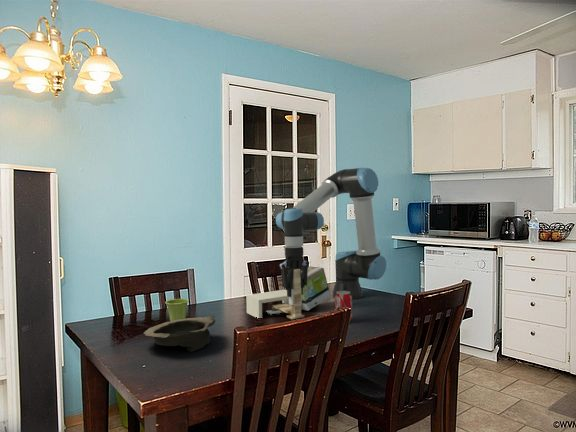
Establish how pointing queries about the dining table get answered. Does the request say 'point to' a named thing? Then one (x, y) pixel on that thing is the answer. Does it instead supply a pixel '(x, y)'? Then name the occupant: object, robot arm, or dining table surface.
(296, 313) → the beech scraper
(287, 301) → the cream u-shaped bracket
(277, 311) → the steel block
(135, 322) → the dining table surface
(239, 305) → the dining table surface
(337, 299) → the soda can
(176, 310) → the plant pot
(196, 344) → the stone bowl
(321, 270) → the tea box
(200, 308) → the dining table surface
